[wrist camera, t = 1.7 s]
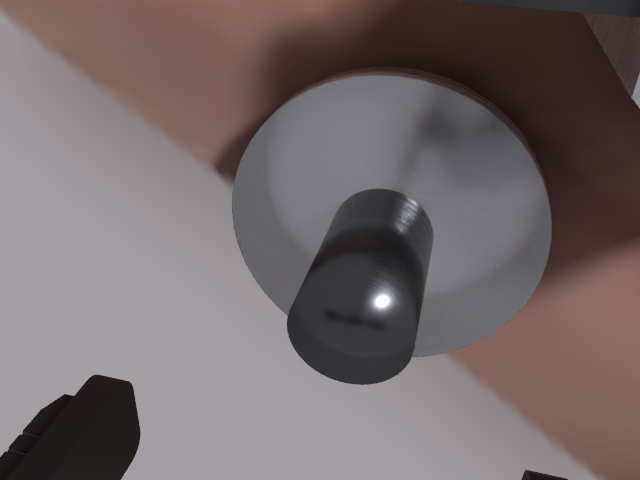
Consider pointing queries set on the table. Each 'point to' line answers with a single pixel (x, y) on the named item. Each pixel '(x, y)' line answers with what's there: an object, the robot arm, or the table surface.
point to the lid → (390, 219)
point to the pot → (601, 30)
